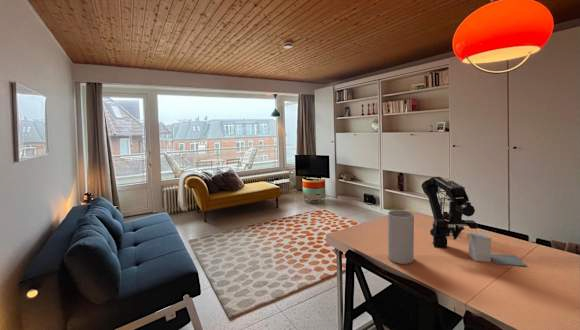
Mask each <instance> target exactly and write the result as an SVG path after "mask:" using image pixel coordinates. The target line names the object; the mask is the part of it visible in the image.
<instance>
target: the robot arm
mask: <svg viewBox="0 0 580 330" xmlns="http://www.w3.org/2000/svg"><path fill="white" fill-rule="evenodd" d="M439 187H440V188H441V190H442V191H446V192H445V195H447V196H448V197H447V198H448V199H447V201H449V202H448V203H449V205H448V206H449V207H448V209H449V210H448V211H444V212H443V210H442V211H441V208H440V201H439V197H438V193H437V192H438V189H439ZM463 187H464V186H463ZM463 187H460V186H459V185H458V186H456V185H453V184H450V183H448V182H447V181H446V180H445V179H444V178H442V177H441V176H432V177H430V178H429V179H427V180H424V181H423V182H422V184H421V189H422V191H423V193H424V194H425V195H426V196H427V198H428V202H429V206H430V208H431V212H432V213H431V214H432V215H433V223H432V228H431V229H430V230H429V234H430V235H431V236H432V237H433V238H432V245H433V247H434V248H443V249H447V248H448V237H450V236H452V235H453V236H452V237H453V240H457V238H458V237H459V236H460V234H461V232H463V231H464V230H465V226H466V227H468V228H469V229H473V230H476V229H478V227H479V226H478V223H477V222H476V221H475V220H472V219H466V220H465V221H463V219H462V218H463V216H466V217H472V216H473V215H474V214H475V213H476V210H475V207H474V206H473V205H472V203H471V202H470V199H469V196H468V194H467V192H466V190H464V188H463ZM450 232H452V233H450Z"/></svg>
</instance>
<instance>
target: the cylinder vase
mask: <svg viewBox="0 0 580 330" xmlns="http://www.w3.org/2000/svg"><path fill="white" fill-rule="evenodd" d="M414 220H415V214H414V212H411V211H408V210H401V209H397V210H396V209H395V210H389V211H388V212H387V245H388V246H387V253H388V255H387V257H388V259H389V260H390V261H391V262H393V263H395V264H399V265H408V263H409V264H412V263H413V262H414V251H415V250H414V244H415V242H414V237H415V236H414V235H415V233H414V232H415V231H414V229H415V225H414V224H415V221H414Z"/></svg>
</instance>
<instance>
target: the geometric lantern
mask: <svg viewBox="0 0 580 330" xmlns="http://www.w3.org/2000/svg"><path fill="white" fill-rule="evenodd" d="M447 182H448V183H450V184H452V185H456V186H460V187H463V188H464V190H465V189H466V187H465V186H462V185H461V184H459V183H456V182H455V181H454V180H448V181H447ZM465 191H466V190H465ZM443 195H444V197H443ZM440 196H441V197H440ZM437 197H438V201H439V204H440V208H441V211H442V213H443V212H445V204H446V202H445V201H446V199H448V198H449V197H448V196H447V195H446V191H444V190H442V189H441V188H440V187H438V192H437ZM449 203H450V202H447V204H449ZM450 234H451V236H452V237H453V235H452V232H450Z"/></svg>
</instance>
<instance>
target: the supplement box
mask: <svg viewBox="0 0 580 330" xmlns="http://www.w3.org/2000/svg"><path fill="white" fill-rule="evenodd" d="M468 238H469V240H468V242H469V243H468V256H469V257H470V258H471V259H472V260H474V261H475V262H489V263H490V262H492V260H491V254H492V237H491V236H489V235H488V234H486V233H485V232H469V237H468Z"/></svg>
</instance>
